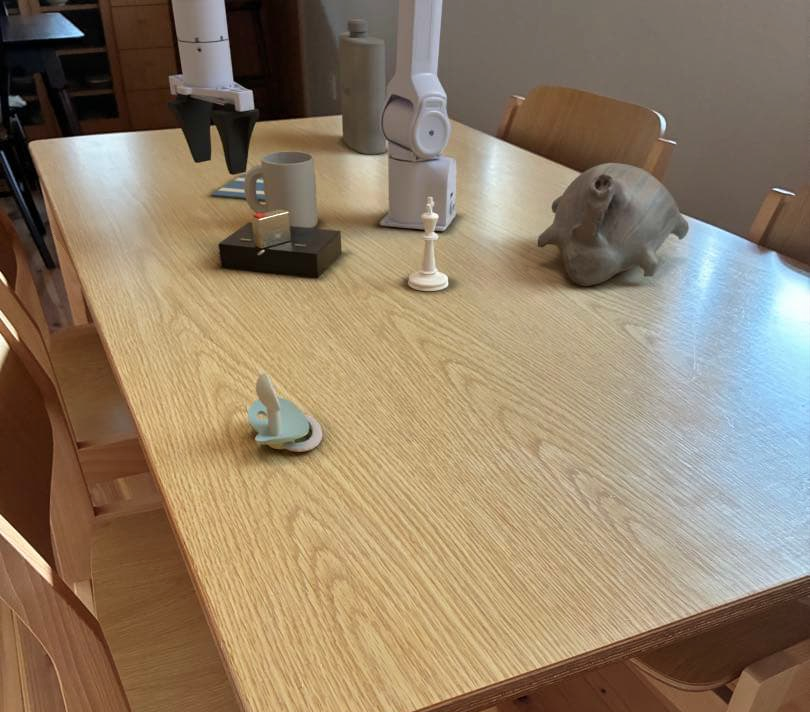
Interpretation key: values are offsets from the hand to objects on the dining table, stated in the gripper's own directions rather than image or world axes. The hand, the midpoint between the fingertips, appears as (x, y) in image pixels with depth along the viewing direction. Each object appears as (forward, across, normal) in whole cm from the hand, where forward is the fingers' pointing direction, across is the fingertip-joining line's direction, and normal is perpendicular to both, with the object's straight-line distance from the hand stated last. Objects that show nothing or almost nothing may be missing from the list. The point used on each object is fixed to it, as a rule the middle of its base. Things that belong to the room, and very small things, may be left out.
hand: (219, 167), depth 100 cm
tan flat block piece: (+7, +9, +1) cm, 12 cm away
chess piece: (+11, +26, +10) cm, 30 cm away
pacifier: (+11, +43, -24) cm, 50 cm away
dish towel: (+10, -22, +20) cm, 31 cm away
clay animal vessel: (+11, +36, +31) cm, 49 cm away
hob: (+10, +8, +2) cm, 13 cm away
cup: (+11, -4, +12) cm, 16 cm away
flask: (+11, -31, +52) cm, 61 cm away
